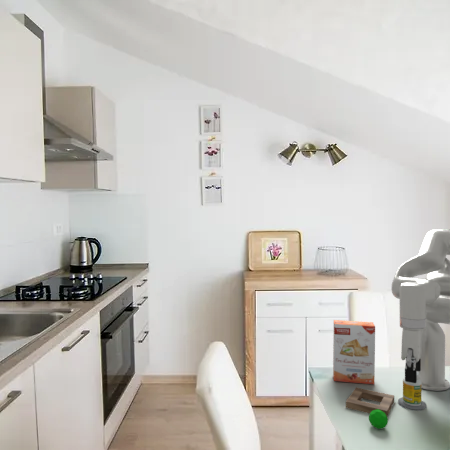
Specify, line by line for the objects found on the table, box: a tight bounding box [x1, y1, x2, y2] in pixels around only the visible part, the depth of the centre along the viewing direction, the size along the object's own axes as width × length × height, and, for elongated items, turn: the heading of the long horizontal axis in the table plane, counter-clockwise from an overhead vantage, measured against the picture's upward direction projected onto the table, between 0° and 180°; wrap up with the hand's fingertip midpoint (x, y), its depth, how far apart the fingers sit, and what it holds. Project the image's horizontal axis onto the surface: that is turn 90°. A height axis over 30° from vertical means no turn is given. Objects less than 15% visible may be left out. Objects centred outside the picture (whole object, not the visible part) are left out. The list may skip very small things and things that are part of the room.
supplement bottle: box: [402, 372, 423, 406], centre depth 129 cm, size 5×5×10 cm
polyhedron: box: [368, 409, 389, 430], centre depth 116 cm, size 5×5×5 cm
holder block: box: [345, 387, 395, 418], centre depth 130 cm, size 12×12×2 cm
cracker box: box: [332, 319, 376, 385], centre depth 148 cm, size 14×6×21 cm, turn 77°
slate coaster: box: [397, 396, 427, 411], centre depth 130 cm, size 8×8×1 cm
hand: (413, 376), depth 130 cm, fingers open, 9 cm apart
